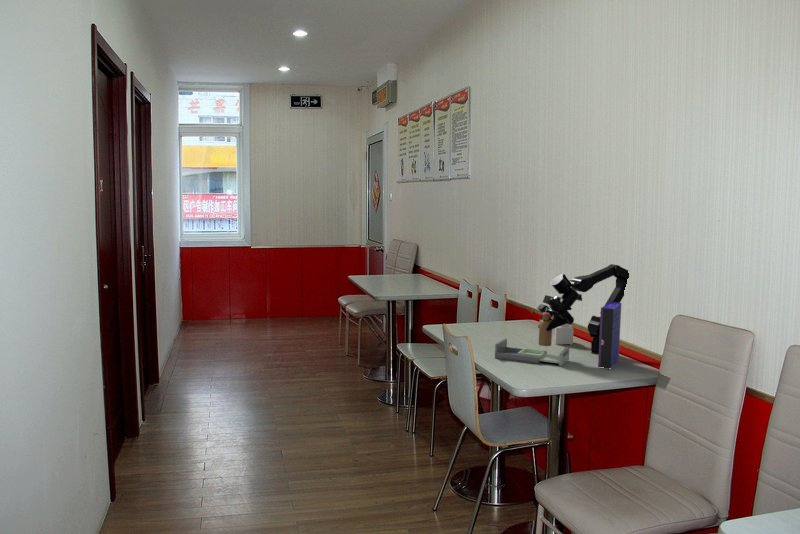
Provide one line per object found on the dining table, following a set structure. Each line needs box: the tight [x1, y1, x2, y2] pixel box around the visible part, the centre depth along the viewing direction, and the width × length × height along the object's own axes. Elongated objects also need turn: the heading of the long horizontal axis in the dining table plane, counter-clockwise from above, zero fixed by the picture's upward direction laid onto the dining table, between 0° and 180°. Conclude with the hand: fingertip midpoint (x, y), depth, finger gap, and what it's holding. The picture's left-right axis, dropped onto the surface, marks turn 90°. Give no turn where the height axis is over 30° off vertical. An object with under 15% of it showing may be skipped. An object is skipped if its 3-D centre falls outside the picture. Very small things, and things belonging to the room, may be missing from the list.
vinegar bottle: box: [538, 312, 553, 347], centre depth 282 cm, size 5×5×13 cm
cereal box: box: [597, 302, 622, 369], centre depth 274 cm, size 17×5×24 cm, turn 152°
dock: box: [494, 338, 548, 365], centre depth 283 cm, size 18×12×6 cm, turn 62°
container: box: [553, 322, 574, 346], centre depth 312 cm, size 8×8×13 cm
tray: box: [518, 346, 570, 367], centre depth 279 cm, size 19×12×5 cm, turn 62°
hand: (542, 329), depth 282 cm, fingers closed on vinegar bottle, 5 cm apart
